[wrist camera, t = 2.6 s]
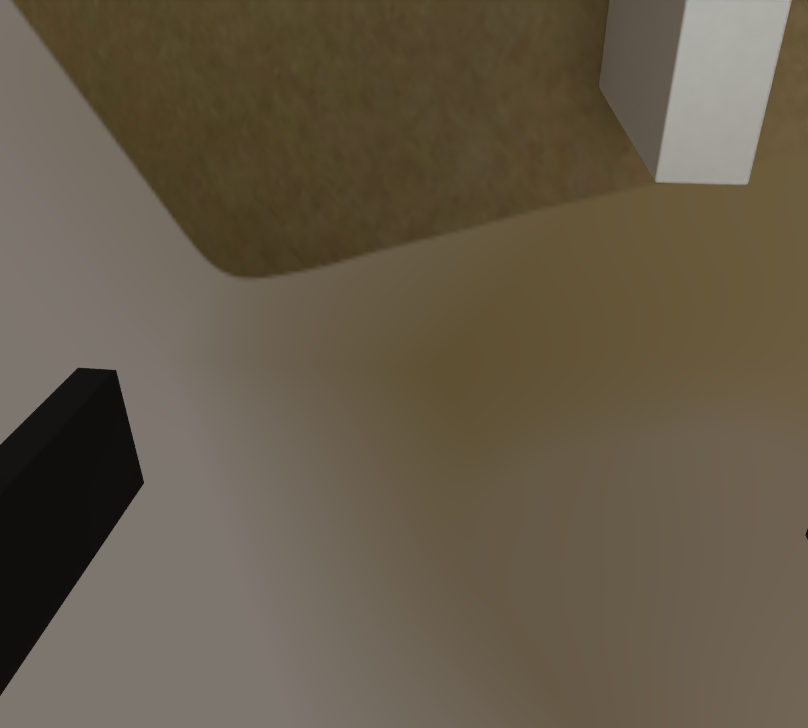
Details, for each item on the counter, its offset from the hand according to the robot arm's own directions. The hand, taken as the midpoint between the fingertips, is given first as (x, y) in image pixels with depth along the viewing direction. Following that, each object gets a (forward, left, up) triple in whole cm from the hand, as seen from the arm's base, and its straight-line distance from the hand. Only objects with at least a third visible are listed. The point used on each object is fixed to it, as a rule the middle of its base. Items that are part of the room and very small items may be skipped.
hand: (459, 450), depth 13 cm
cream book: (+6, +7, -25) cm, 26 cm away
